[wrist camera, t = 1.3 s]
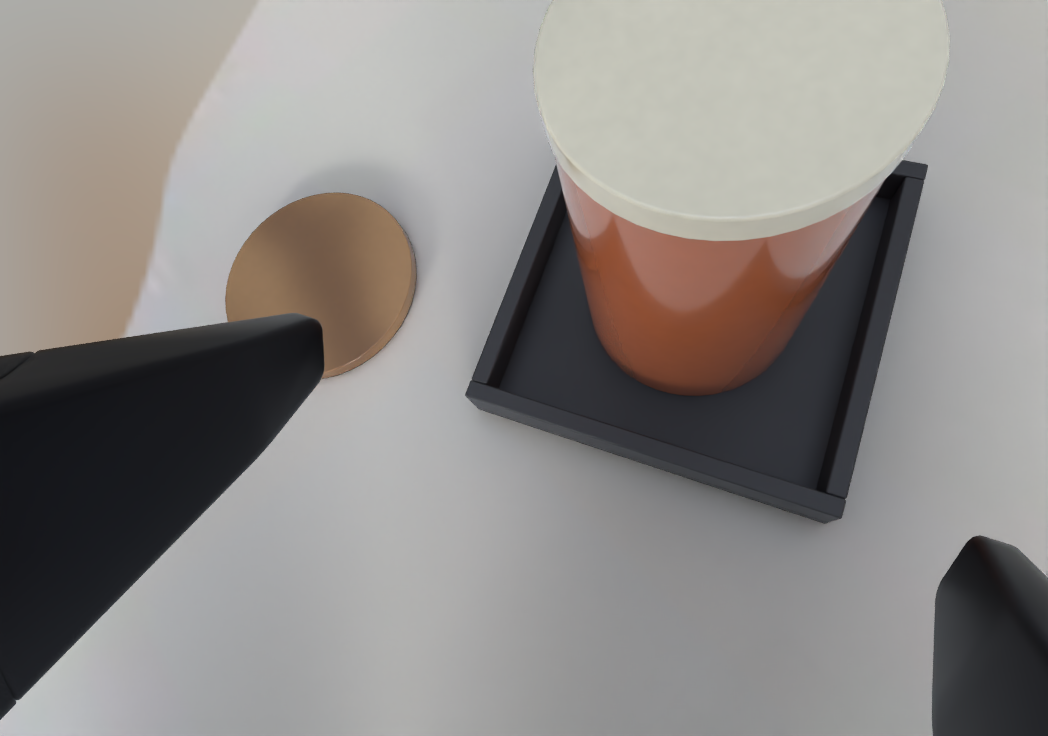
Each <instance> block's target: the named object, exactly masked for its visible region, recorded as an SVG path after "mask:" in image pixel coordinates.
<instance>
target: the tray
mask: <svg viewBox="0 0 1048 736" xmlns="http://www.w3.org/2000/svg"><path fill="white" fill-rule="evenodd" d="M927 168H928V165H926V164H921V163H916V162H910V161H905V160H902V161H901V162H900V163H899V165H898V166H897V167H896V168H895V169H894V171H893V172H892V173H891V174H890V175H889V176H888V177H887V178H886V179H885V181H884V183H883V185H882V186H881V188H880V190H879V191H878V193H877V195H876V196H875V198H874V200H873V201H872V203H871V205H870V206H869V208H868V210H867V211H866V213H865V215H864V216H863V218H862V220H861V222H860V223H859V225H858V227H857V228H856V230H855V232H854V233H853V235H852V237H851V238H850V240H849V242H848V243H847V245H846V247H845V248H844V250H843V252H842V253H841V255H840V257H839V259H838V260H837V262H836V264H835V265H834V267H833V269H832V270H831V272H830V274H829V275H828V277H827V279H826V280H825V282H824V284H823V285H822V287H821V289H820V291H819V292H818V294H817V296H816V297H815V299H814V301H813V302H812V304H811V306H810V307H809V309H808V311H807V312H806V314H805V316H804V317H803V319H802V321H801V322H800V324H799V326H798V328H797V329H796V331H795V333H794V334H793V336H792V338H791V339H790V341H789V343H788V344H787V346H786V348H785V349H784V351H783V352H782V354H781V355H780V356H779V357H778V359H777V360H776V361H775V362H774V363H773V364H772V365H771V366H770V367H769V368H768V369H767V370H766V371H765V372H763V373H762V374H760V375H759V376H758V377H756V378H755V379H753V380H752V381H750V382H748V383H746V384H744V385H742V386H740V387H737V388H734V389H732V390H729V391H726V392H721V393H717V394H712V395H702V396H684V395H677V394H670V393H667V392H663V391H659V390H656V389H654V388H651V387H649V386H647V385H644V384H642V383H641V382H639V381H637V380H635V379H634V378H632V377H631V376H629V375H628V374H627V373H625V372H624V371H623V370H621V369H620V368H619V367H618V366H617V365H616V364H615V363H614V362H613V361H612V359H611V358H610V357H609V355H608V354H607V353H606V352H605V350H604V348H603V347H602V345H601V343H600V341H599V340H598V337H597V335H596V332H595V330H594V327H593V322H592V318H591V314H590V310H589V305H588V301H587V297H586V292H585V288H584V283H583V279H582V275H581V270H580V266H579V261H578V257H577V253H576V248H575V244H574V239H573V235H572V231H571V226H570V222H569V218H568V213H567V209H566V204H565V200H564V196H563V191H562V187H561V182H560V178H559V174H558V169H557V165H556V166H555V169H554V171H553V174H552V177H551V179H550V182H549V184H548V187H547V189H546V192H545V194H544V197H543V199H542V202H541V204H540V207H539V209H538V212H537V215H536V217H535V220H534V222H533V225H532V227H531V230H530V232H529V235H528V237H527V240H526V242H525V245H524V247H523V250H522V253H521V255H520V258H519V260H518V263H517V265H516V268H515V270H514V273H513V275H512V278H511V280H510V283H509V285H508V288H507V291H506V293H505V296H504V298H503V301H502V303H501V306H500V308H499V311H498V313H497V316H496V318H495V321H494V323H493V326H492V329H491V331H490V334H489V336H488V339H487V341H486V344H485V346H484V349H483V351H482V354H481V356H480V359H479V361H478V364H477V367H476V369H475V372H474V374H473V377H472V380H473V381H471V382H470V384H469V387H468V389H467V392H466V394H465V396H466V397H467V398H468V399H469V400H470V401H471V402H472V403H473V404H474V405H476V407H477V408H478V409H480V410H483V411H486V412H489V413H493V414H496V415H499V416H502V417H505V418H508V419H511V420H514V421H517V422H520V423H523V424H526V425H529V426H532V427H535V428H538V429H541V430H544V431H547V432H550V433H553V434H556V435H559V436H562V437H565V438H568V439H571V440H574V441H577V442H580V443H583V444H586V445H589V446H592V447H595V448H598V449H601V450H604V451H607V452H610V453H613V454H616V455H619V456H622V457H625V458H628V459H632V460H635V461H638V462H641V463H644V464H647V465H650V466H653V467H656V468H659V469H662V470H665V471H668V472H671V473H674V474H677V475H680V476H683V477H686V478H689V479H692V480H695V481H698V482H701V483H704V484H707V485H710V486H713V487H716V488H719V489H722V490H725V491H728V492H731V493H734V494H737V495H740V496H743V497H746V498H749V499H752V500H755V501H758V502H761V503H764V504H767V505H770V506H774V507H777V508H780V509H783V510H786V511H789V512H792V513H795V514H798V515H801V516H804V517H807V518H810V519H813V520H816V521H819V522H822V523H828V522H831V521H834V520H837V519H841V518H842V515H843V511H844V507H845V503H846V500H845V499H846V498H847V494H848V490H849V486H850V482H851V478H852V474H853V470H854V466H855V462H856V458H857V454H858V450H859V445H860V441H861V437H862V433H863V429H864V425H865V421H866V417H867V413H868V409H869V405H870V401H871V396H872V392H873V388H874V384H875V380H876V376H877V372H878V368H879V364H880V360H881V356H882V352H883V347H884V343H885V339H886V335H887V331H888V327H889V323H890V319H891V315H892V311H893V307H894V303H895V298H896V294H897V290H898V286H899V282H900V278H901V274H902V270H903V266H904V262H905V258H906V254H907V250H908V245H909V241H910V237H911V233H912V229H913V225H914V221H915V217H916V213H917V209H918V205H919V201H920V196H921V192H922V188H923V184H924V179H925V176H926V172H927Z"/></svg>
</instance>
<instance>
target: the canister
mask: <svg viewBox="0 0 1048 736" xmlns="http://www.w3.org/2000/svg"><path fill="white" fill-rule="evenodd" d="M949 51H950V35H949V28H948V21H947V15H946V12H945V9H944V6H943V3H942V0H552V2H551V4H550V6H549V7H548V9H547V12H546V14H545V17H544V19H543V22H542V24H541V27H540V29H539V33H538V37H537V41H536V46H535V50H534V61H533V81H534V92H535V96H536V100H537V104H538V108H539V113H540V117H541V121H542V125H543V129H544V133H545V135H546V138H547V140H548V143H549V145H550V147H551V150H552V152H553V153H554V156H555V160H556V165H557V169H558V174H559V178H560V182H561V187H562V191H563V196H564V200H565V204H566V209H567V213H568V218H569V222H570V226H571V231H572V235H573V239H574V244H575V248H576V253H577V257H578V261H579V266H580V270H581V275H582V279H583V283H584V288H585V292H586V297H587V301H588V305H589V310H590V314H591V318H592V322H593V327H594V330H595V332H596V335H597V337H598V340H599V341H600V343H601V345H602V347H603V348H604V350H605V352H606V353H607V354H608V355H609V357H610V358H611V359H612V361H613V362H614V363H615V364H616V365H617V366H618V367H619V368H620V369H621V370H623V371H624V372H625V373H627V374H628V375H629V376H631V377H632V378H634V379H635V380H637V381H639V382H641V383H642V384H644V385H647V386H649V387H651V388H654V389H656V390H659V391H663V392H667V393H670V394H677V395H684V396H702V395H712V394H717V393H721V392H726V391H729V390H732V389H734V388H737V387H740V386H742V385H744V384H746V383H748V382H750V381H752V380H753V379H755V378H756V377H758V376H759V375H760V374H762V373H763V372H765V371H766V370H767V369H768V368H769V367H770V366H771V365H772V364H773V363H774V362H775V361H776V360H777V359H778V357H779V356H780V355H781V354H782V352H783V351H784V349H785V348H786V346H787V344H788V343H789V341H790V339H791V338H792V336H793V334H794V333H795V331H796V329H797V328H798V326H799V324H800V322H801V321H802V319H803V317H804V316H805V314H806V312H807V311H808V309H809V307H810V306H811V304H812V302H813V301H814V299H815V297H816V296H817V294H818V292H819V291H820V289H821V287H822V285H823V284H824V282H825V280H826V279H827V277H828V275H829V274H830V272H831V270H832V269H833V267H834V265H835V264H836V262H837V260H838V259H839V257H840V255H841V253H842V252H843V250H844V248H845V247H846V245H847V243H848V242H849V240H850V238H851V237H852V235H853V233H854V232H855V230H856V228H857V227H858V225H859V223H860V222H861V220H862V218H863V216H864V215H865V213H866V211H867V210H868V208H869V206H870V205H871V203H872V201H873V200H874V198H875V196H876V195H877V193H878V191H879V190H880V188H881V186H882V185H883V183H884V181H885V179H886V178H887V177H888V176H889V175H890V174H891V173H892V172H893V171H894V169H895V168H896V167H897V166H898V165H899V163H900V162H901V161H902V160H903V159H904V157H905V156H906V155H907V154H908V152H909V150H910V149H911V147H912V145H913V144H914V142H915V141H916V139H917V137H918V136H919V134H920V132H921V131H922V129H923V127H924V126H925V124H926V122H927V121H928V119H929V117H930V116H931V114H932V113H933V111H934V109H935V107H936V105H937V102H938V100H939V97H940V95H941V92H942V90H943V87H944V84H945V79H946V75H947V70H948V65H949Z"/></svg>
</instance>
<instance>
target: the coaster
mask: <svg viewBox="0 0 1048 736" xmlns="http://www.w3.org/2000/svg"><path fill="white" fill-rule="evenodd" d="M415 284H416V262H415V256H414V252H413V249H412V246H411V243H410V241H409V239H408V237H407V235H406V233H405V232H404V230H403V229H402V228H401V226H400V225H399V223H398V222H397V220H396V219H395V218H394V217H393V216H392V215H391V214H390V213H389V212H388V211H387V210H385V209H384V208H383V207H382V206H380V205H379V204H377V203H375V202H373V201H371V200H369V199H366V198H364V197H361V196H357V195H353V194H348V193H324V194H317V195H313V196H309V197H306V198H302V199H300V200H297V201H295V202H292V203H290V204H289V205H287V206H285V207H283V208H281V209H280V210H278V211H277V212H275V213H274V214H272V215H271V216H270V217H268V218H267V219H266V220H265V221H264V222H262V223H261V224H260V225H259V226H258V227H257V228H256V229H255V230H254V231H253V233H252V234H251V235H250V236H249V238H248V239H247V240H246V241H245V243H244V244H243V246H242V248H241V249H240V251H239V252H238V254H237V257H236V259H235V261H234V263H233V265H232V268H231V271H230V274H229V278H228V282H227V287H226V297H225V302H226V314H227V319H228V322H234V321H241V320H247V319H254V318H261V317H267V316H274V315H281V314H288V313H299V314H302V315H305V316H308V317H311V318H314V319H316V320H318V321H319V322H320V324H321V326H322V329H323V344H324V363H325V367H324V373H323V376H322V378H327V377H331V376H335V375H339V374H341V373H344V372H347V371H349V370H351V369H353V368H355V367H357V366H359V365H361V364H363V363H364V362H366V361H367V360H368V359H370V358H371V357H373V356H374V355H375V354H376V353H377V352H379V351H380V350H381V349H382V348H383V347H384V346H385V345H386V344H387V343H388V342H389V341H390V340H391V338H392V337H393V336H394V334H395V333H396V332H397V330H398V329H399V328H400V326H401V324H402V322H403V321H404V319H405V317H406V315H407V313H408V310H409V308H410V305H411V303H412V299H413V295H414V291H415Z"/></svg>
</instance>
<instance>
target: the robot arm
mask: <svg viewBox="0 0 1048 736" xmlns="http://www.w3.org/2000/svg"><path fill="white" fill-rule="evenodd" d="M324 367H325V363H324V344H323V329H322V326H321V324H320V322H319V321H318V320H316V319H314V318H311V317H308V316H305V315H302V314H299V313H288V314H281V315H274V316H267V317H261V318H254V319H247V320H241V321H234V322H227V323H220V324H214V325H207V326H200V327H193V328H187V329H180V330H173V331H166V332H160V333H153V334H146V335H140V336H133V337H126V338H120V339H113V340H106V341H99V342H92V343H86V344H79V345H73V346H65V347H59V348H52V349H46V350H39V351H37V352H36V353H33V352H24V353H18V354H11V355H5V356H0V720H1V719H2V718H3V717H4V716H5V715H6V714H7V713H8V711H9V710H10V709H11V708H12V707H13V706H14V705H15V704H16V700H19V699H21V698H22V697H23V696H24V695H25V694H26V693H27V692H28V691H29V690H30V689H31V688H32V687H33V685H34V684H35V683H36V682H37V681H38V680H39V679H40V678H41V677H42V676H43V675H44V674H45V673H46V672H47V671H48V670H49V669H50V668H51V667H52V666H53V665H54V664H55V663H56V662H57V661H58V660H59V659H60V658H61V657H62V656H63V655H64V654H65V653H66V652H67V651H68V650H69V649H70V648H71V647H72V646H73V645H74V644H75V643H76V642H77V641H78V640H79V639H80V638H81V637H82V636H83V635H84V634H85V633H86V632H87V631H88V630H89V629H90V628H91V627H92V626H93V625H94V624H95V623H96V622H97V620H98V619H99V618H100V617H101V616H102V615H103V614H104V613H105V612H106V611H107V610H108V609H109V608H110V607H111V606H112V605H113V604H114V603H115V602H116V601H117V600H118V599H119V598H120V597H121V596H122V595H123V594H124V593H125V592H126V591H127V590H128V589H129V588H130V587H131V586H132V585H133V584H134V583H135V582H136V581H137V580H138V579H139V578H140V577H141V576H142V575H143V574H144V573H145V572H146V571H147V570H148V569H149V568H150V567H151V566H152V565H153V564H154V563H155V562H156V561H157V560H158V559H159V558H160V556H161V555H162V554H163V553H164V552H165V551H166V550H167V549H168V548H169V547H170V546H171V545H172V544H173V543H174V542H175V541H176V540H177V539H178V538H179V537H180V536H181V535H182V534H183V533H184V532H185V531H186V530H187V529H188V528H189V527H190V526H191V525H192V524H193V523H194V522H195V521H196V520H197V519H198V518H199V517H200V516H201V515H202V514H203V513H204V512H205V511H206V510H207V509H208V508H209V507H210V506H211V505H212V504H213V503H214V502H215V501H216V500H217V499H218V498H219V497H220V496H221V495H222V494H223V493H224V491H225V490H226V489H227V488H228V487H229V486H230V485H231V484H232V483H233V482H234V481H235V480H236V479H237V478H238V477H239V476H240V475H241V474H242V473H243V472H244V471H245V470H246V469H247V468H248V467H249V466H250V465H251V464H252V463H253V462H254V461H255V460H256V459H257V458H258V457H259V456H260V454H261V453H262V452H263V451H264V450H265V449H266V448H267V446H268V445H269V444H270V443H271V442H272V441H273V439H274V438H275V437H276V436H277V434H278V433H279V432H280V431H281V429H282V428H283V427H284V426H285V424H286V423H287V422H288V421H289V419H290V418H291V417H292V416H293V414H294V413H295V412H296V411H297V409H298V408H299V407H300V406H301V404H302V403H303V402H304V401H305V399H306V398H307V397H308V396H309V394H310V393H311V392H312V391H313V389H314V388H315V387H316V386H317V384H318V383H319V381H320V380H321V378H322V376H323V373H324ZM932 728H933V736H1048V578H1047V577H1046V576H1045V575H1044V574H1043V573H1042V572H1041V571H1040V570H1039V569H1038V568H1037V567H1036V566H1035V565H1034V564H1033V563H1032V562H1031V561H1030V560H1029V559H1028V558H1027V557H1026V556H1025V555H1024V554H1023V553H1022V552H1021V551H1020V550H1019V549H1018V548H1016V547H1014V546H1012V545H1009V544H1006V543H1003V542H1000V541H997V540H993V539H990V538H987V537H984V536H980V535H979V536H975V537H972V538H971V539H970V540H969V541H968V542H967V543H966V544H965V546H964V547H963V549H962V550H961V552H960V553H959V555H958V556H957V558H956V559H955V561H954V562H953V564H952V565H951V567H950V568H949V570H948V571H947V573H946V574H945V576H944V577H943V579H942V581H941V582H940V584H939V587H938V590H937V593H936V598H935V622H934V652H933V683H932Z"/></svg>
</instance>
